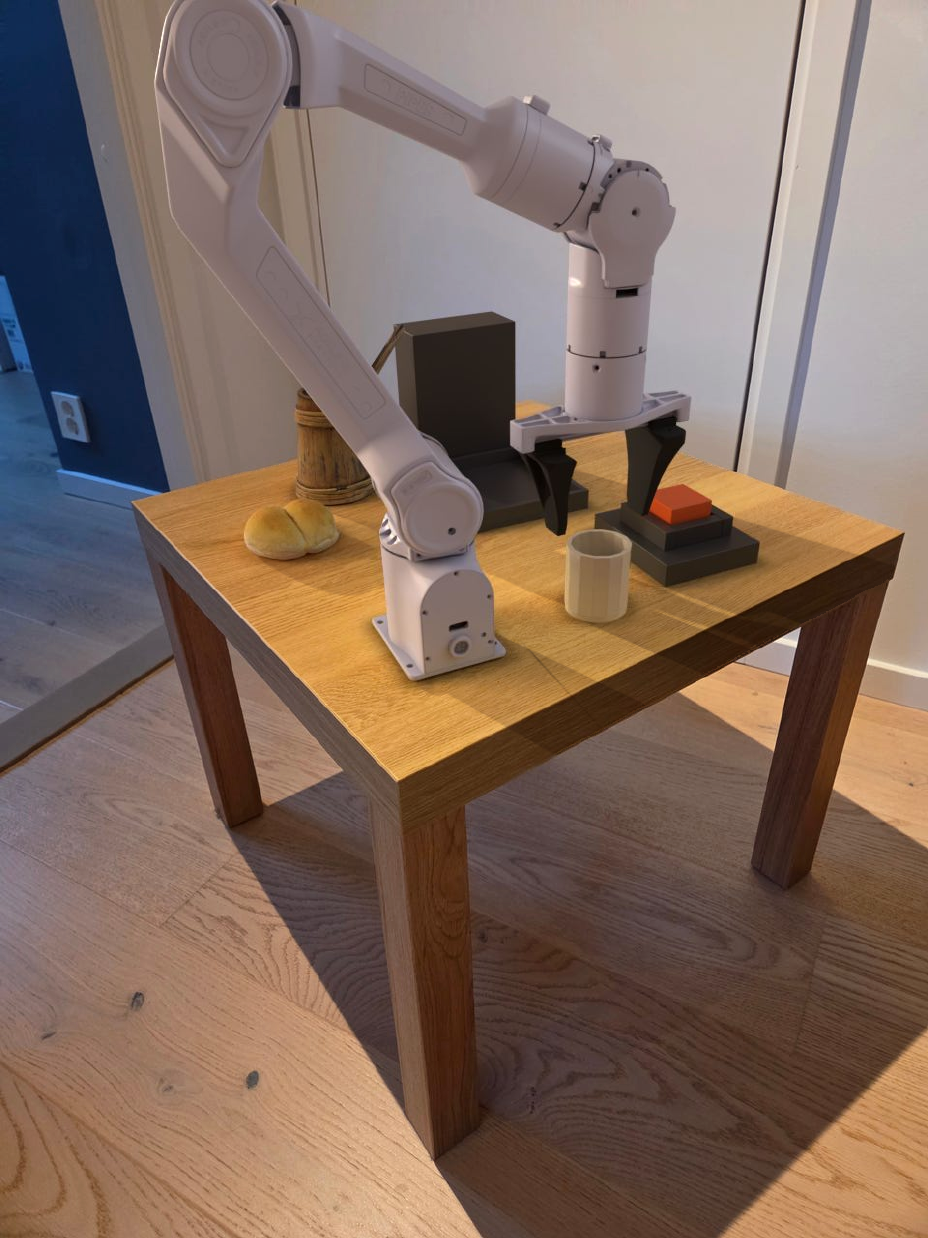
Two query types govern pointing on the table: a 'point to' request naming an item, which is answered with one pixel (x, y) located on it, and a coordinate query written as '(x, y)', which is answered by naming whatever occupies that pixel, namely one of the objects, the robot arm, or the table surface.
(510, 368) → the block
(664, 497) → the button
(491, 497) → the tray
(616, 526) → the control block
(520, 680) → the table surface
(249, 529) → the bread roll
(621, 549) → the cream cup
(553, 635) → the table surface
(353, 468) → the wooden mug
